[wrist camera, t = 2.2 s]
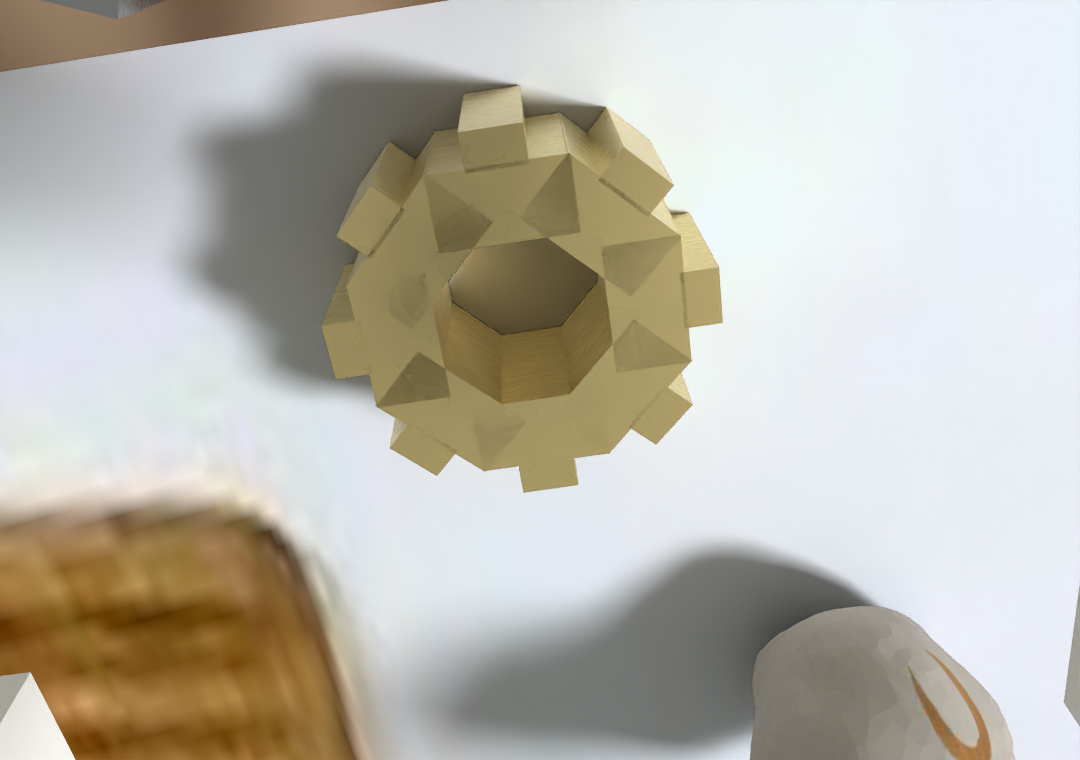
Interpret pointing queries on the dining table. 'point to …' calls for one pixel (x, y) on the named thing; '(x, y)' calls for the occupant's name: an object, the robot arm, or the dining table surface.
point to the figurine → (869, 694)
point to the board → (153, 25)
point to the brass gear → (534, 356)
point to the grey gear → (107, 6)
